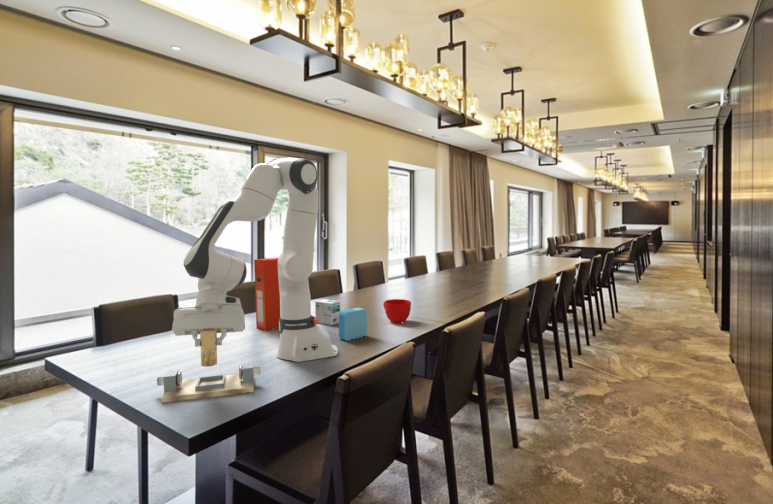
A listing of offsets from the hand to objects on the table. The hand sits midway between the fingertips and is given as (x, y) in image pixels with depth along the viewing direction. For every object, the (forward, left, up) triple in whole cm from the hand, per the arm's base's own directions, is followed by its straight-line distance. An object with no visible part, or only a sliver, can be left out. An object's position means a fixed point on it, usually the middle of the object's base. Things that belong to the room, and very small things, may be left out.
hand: (208, 345), depth 122 cm
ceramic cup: (-78, -63, -14) cm, 101 cm away
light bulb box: (-46, -70, -14) cm, 85 cm away
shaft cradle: (0, -1, -13) cm, 14 cm away
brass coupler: (0, -1, -6) cm, 6 cm away
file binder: (-22, -71, -14) cm, 75 cm away
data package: (-52, -41, -14) cm, 68 cm away
